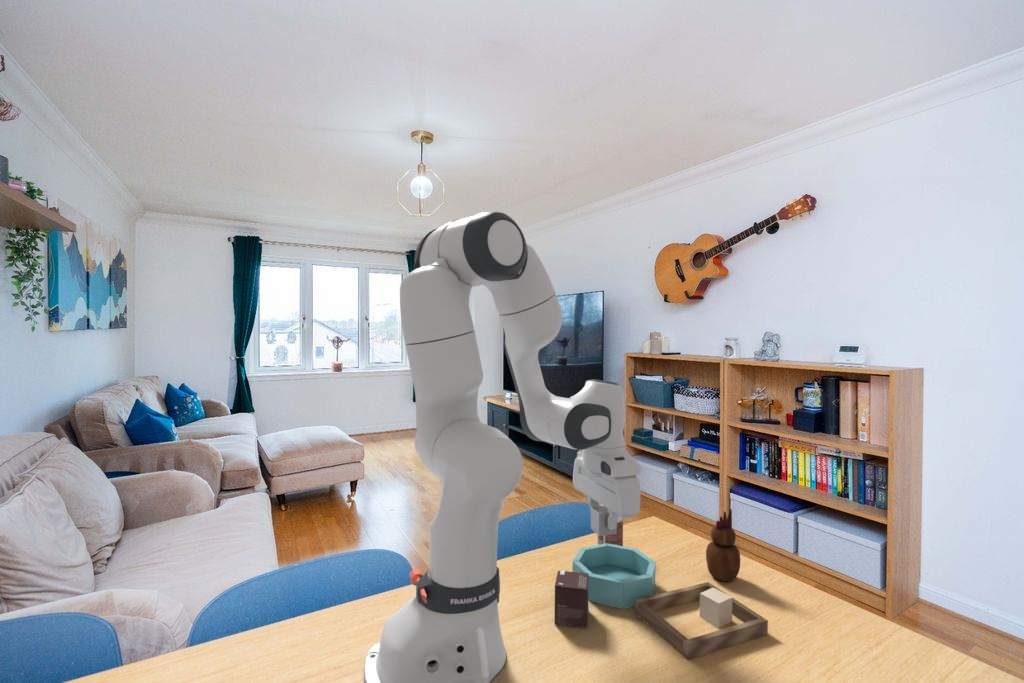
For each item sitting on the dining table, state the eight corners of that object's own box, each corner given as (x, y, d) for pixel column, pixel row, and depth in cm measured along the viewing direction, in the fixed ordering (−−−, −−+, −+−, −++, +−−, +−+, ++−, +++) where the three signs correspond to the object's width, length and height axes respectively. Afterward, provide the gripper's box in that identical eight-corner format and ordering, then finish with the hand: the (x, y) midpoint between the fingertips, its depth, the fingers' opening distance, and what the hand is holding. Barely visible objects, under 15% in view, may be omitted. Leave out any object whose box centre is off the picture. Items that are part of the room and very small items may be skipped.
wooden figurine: (733, 572, 107) (734, 505, 107) (743, 585, 101) (744, 515, 101) (702, 570, 108) (703, 504, 107) (710, 583, 102) (711, 513, 102)
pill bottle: (626, 547, 119) (627, 503, 119) (616, 556, 114) (616, 510, 114) (604, 540, 123) (604, 497, 122) (592, 549, 118) (593, 504, 118)
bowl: (602, 614, 90) (602, 587, 90) (561, 573, 105) (562, 551, 105) (670, 597, 97) (671, 572, 96) (623, 561, 112) (623, 540, 111)
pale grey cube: (598, 536, 97) (598, 514, 97) (590, 528, 101) (590, 507, 101) (616, 533, 98) (616, 512, 98) (608, 526, 102) (608, 505, 102)
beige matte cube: (718, 628, 87) (718, 603, 87) (699, 616, 90) (699, 593, 90) (731, 621, 89) (732, 597, 89) (712, 610, 92) (713, 587, 92)
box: (587, 629, 86) (587, 589, 86) (553, 625, 87) (554, 585, 87) (588, 610, 92) (589, 572, 92) (557, 606, 93) (557, 569, 93)
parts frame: (687, 659, 78) (687, 644, 78) (634, 612, 91) (635, 599, 91) (767, 634, 85) (767, 620, 85) (708, 594, 98) (708, 582, 98)
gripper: (566, 447, 108) (565, 507, 108) (618, 472, 89) (618, 545, 89) (590, 444, 110) (590, 504, 111) (646, 468, 91) (646, 540, 92)
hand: (603, 523), depth 100 cm, fingers closed on pale grey cube, 4 cm apart
